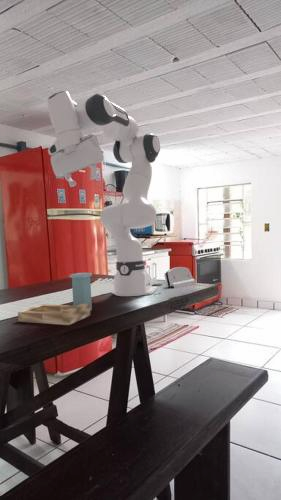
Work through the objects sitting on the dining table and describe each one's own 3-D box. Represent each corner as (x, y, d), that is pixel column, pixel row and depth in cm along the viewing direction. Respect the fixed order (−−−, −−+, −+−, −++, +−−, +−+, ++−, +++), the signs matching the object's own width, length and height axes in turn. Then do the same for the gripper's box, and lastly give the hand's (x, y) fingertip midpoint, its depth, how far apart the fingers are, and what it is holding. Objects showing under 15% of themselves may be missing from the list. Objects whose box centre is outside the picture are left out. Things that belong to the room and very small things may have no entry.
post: (80, 309, 123) (78, 272, 122) (93, 309, 121) (91, 272, 120) (71, 312, 118) (69, 274, 117) (85, 313, 116) (83, 274, 115)
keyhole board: (43, 312, 120) (42, 301, 120) (90, 315, 112) (89, 303, 112) (18, 321, 109) (17, 308, 109) (69, 325, 101) (68, 311, 101)
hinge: (174, 288, 159) (168, 267, 161) (167, 290, 163) (161, 270, 165) (196, 283, 171) (190, 264, 173) (189, 285, 174) (183, 267, 176)
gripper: (100, 132, 113) (112, 173, 115) (57, 151, 124) (68, 188, 126) (88, 131, 108) (101, 175, 110) (44, 151, 119) (56, 191, 121)
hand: (83, 182), depth 118 cm, fingers open, 8 cm apart
